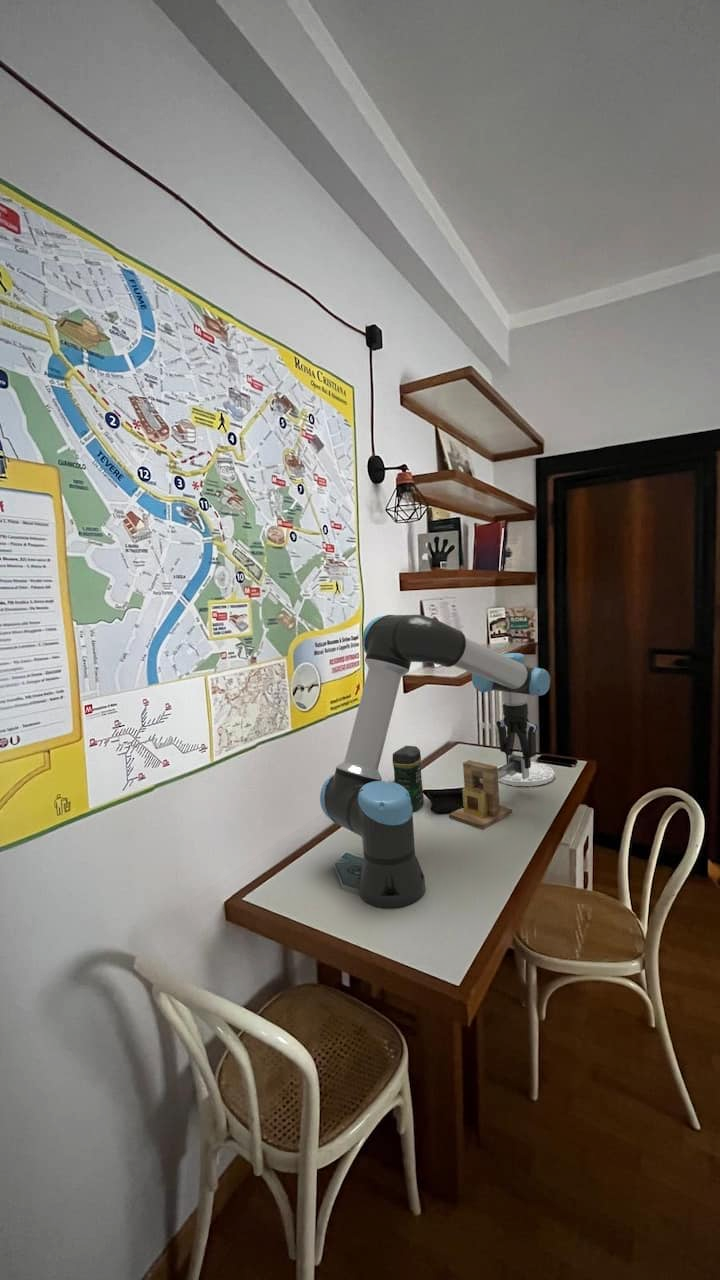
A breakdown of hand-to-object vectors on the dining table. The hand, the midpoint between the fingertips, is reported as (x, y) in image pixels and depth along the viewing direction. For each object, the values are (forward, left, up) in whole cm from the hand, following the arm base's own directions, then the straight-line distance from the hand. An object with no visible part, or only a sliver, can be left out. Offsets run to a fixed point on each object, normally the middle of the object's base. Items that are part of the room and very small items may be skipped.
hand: (519, 776), depth 169 cm
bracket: (-19, 0, -6) cm, 20 cm away
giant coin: (+14, +8, -7) cm, 18 cm away
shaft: (-8, 0, +2) cm, 9 cm away
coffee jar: (-28, +21, -6) cm, 36 cm away
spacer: (-22, 0, -1) cm, 22 cm away
